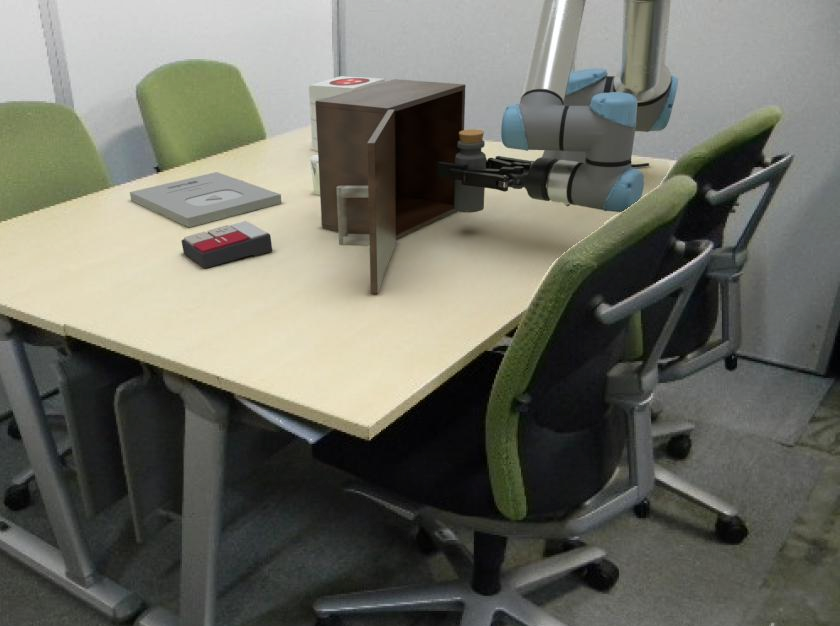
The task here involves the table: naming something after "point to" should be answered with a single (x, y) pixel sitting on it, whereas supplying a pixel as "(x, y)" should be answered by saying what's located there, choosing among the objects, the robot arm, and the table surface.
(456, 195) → the bottle
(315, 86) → the pizza boxes
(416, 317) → the table surface
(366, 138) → the cupboard
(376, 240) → the cupboard door
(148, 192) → the award plaque
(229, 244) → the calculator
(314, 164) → the milkshake
